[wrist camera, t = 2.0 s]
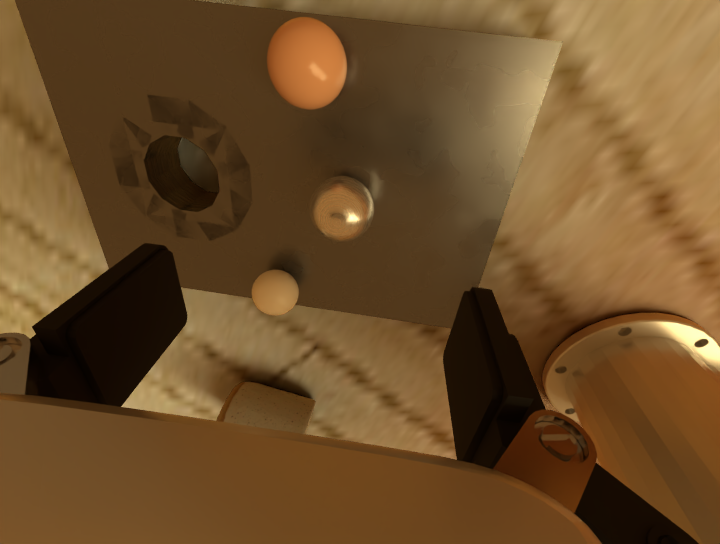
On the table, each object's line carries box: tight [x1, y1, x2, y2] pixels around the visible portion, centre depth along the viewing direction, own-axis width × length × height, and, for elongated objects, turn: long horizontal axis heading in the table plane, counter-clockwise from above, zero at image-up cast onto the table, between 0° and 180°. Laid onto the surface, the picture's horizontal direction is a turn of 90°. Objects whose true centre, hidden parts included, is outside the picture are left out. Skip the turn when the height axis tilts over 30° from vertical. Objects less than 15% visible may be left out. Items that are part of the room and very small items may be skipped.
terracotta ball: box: [267, 17, 347, 110], centre depth 15 cm, size 4×4×4 cm
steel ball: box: [309, 176, 374, 242], centre depth 19 cm, size 4×4×4 cm
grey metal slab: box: [15, 0, 563, 328], centre depth 22 cm, size 26×17×4 cm, turn 84°
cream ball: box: [252, 270, 299, 315], centre depth 22 cm, size 3×3×3 cm
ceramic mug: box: [217, 382, 316, 434], centre depth 34 cm, size 11×8×8 cm
